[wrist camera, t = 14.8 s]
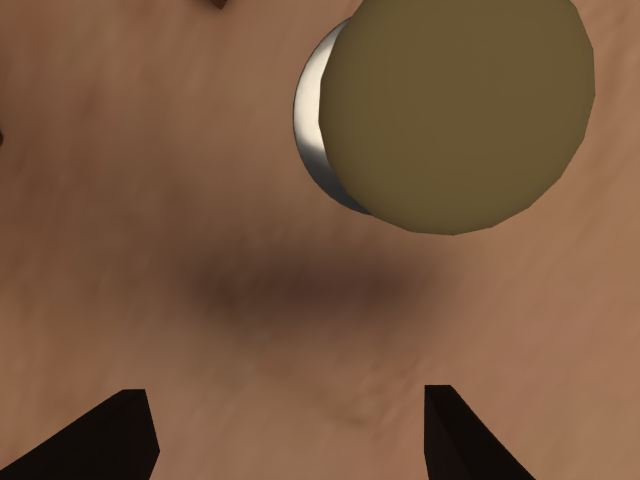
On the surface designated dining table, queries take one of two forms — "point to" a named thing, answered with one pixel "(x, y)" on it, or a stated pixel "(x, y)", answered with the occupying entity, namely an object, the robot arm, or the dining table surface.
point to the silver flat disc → (308, 123)
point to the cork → (455, 108)
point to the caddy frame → (218, 3)
